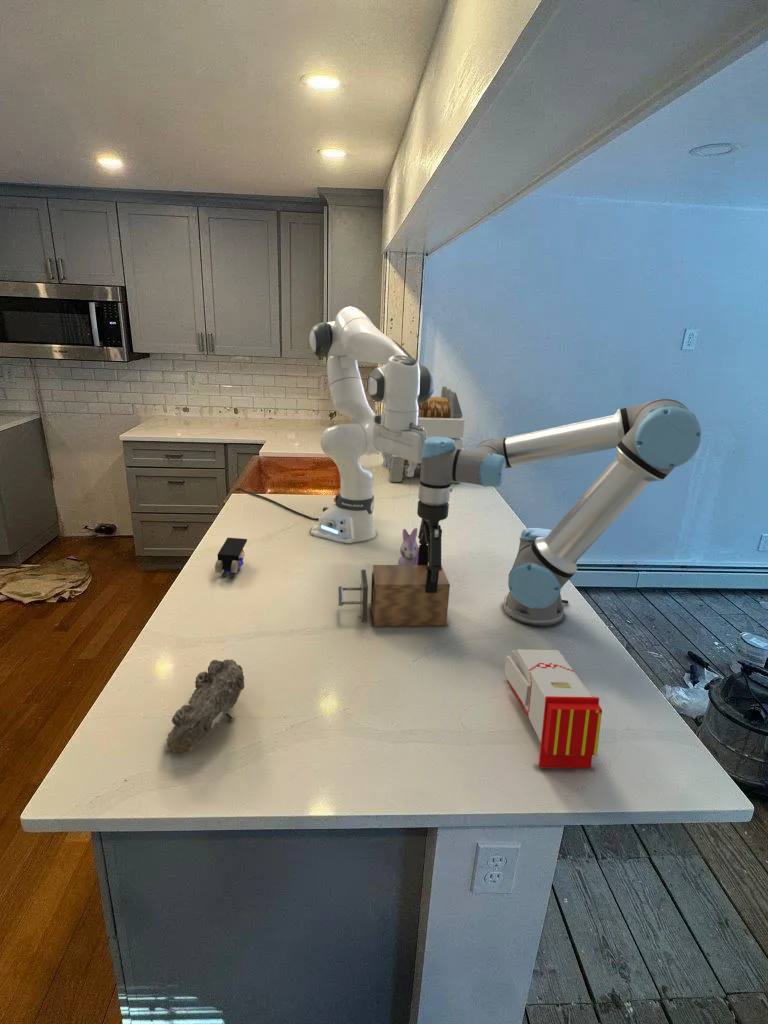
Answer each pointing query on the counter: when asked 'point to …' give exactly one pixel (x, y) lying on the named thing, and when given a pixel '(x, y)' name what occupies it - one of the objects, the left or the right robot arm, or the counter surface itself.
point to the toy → (556, 707)
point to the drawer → (363, 595)
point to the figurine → (409, 548)
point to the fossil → (206, 705)
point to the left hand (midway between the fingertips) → (398, 472)
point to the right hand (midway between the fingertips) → (426, 579)
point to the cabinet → (408, 596)
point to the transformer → (435, 426)
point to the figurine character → (230, 556)
